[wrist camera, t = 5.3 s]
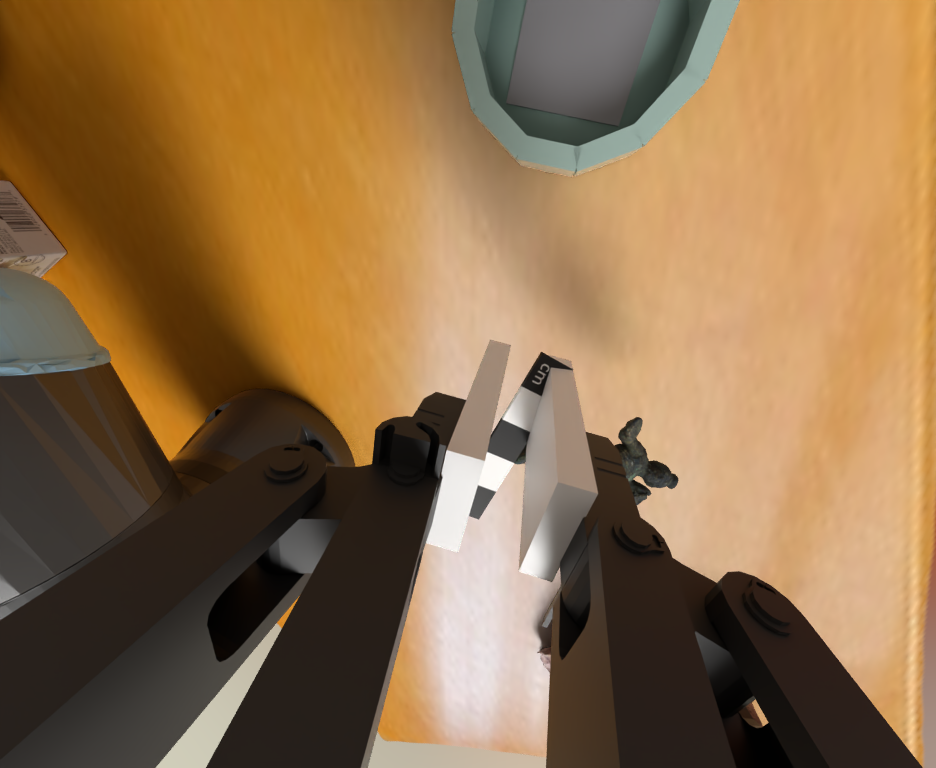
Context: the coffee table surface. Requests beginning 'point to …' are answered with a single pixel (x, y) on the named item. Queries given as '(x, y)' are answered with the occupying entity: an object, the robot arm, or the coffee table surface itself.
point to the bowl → (583, 72)
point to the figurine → (515, 432)
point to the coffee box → (25, 236)
